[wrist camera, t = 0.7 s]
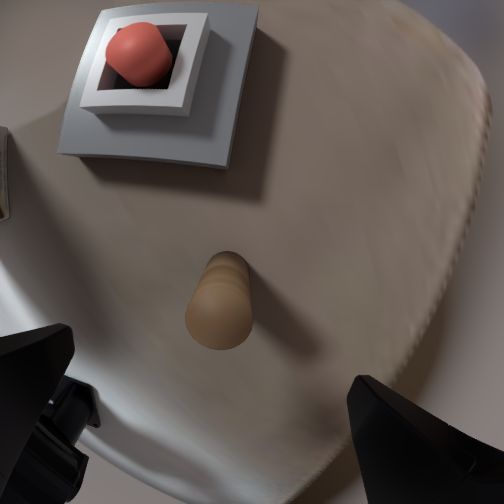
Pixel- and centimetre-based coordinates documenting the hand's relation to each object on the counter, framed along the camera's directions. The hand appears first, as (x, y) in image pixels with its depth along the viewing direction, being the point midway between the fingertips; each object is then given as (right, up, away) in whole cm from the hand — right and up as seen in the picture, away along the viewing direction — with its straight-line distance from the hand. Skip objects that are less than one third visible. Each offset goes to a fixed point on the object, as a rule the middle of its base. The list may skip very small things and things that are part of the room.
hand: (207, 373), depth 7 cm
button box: (-5, +16, +9) cm, 19 cm away
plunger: (-5, +15, +6) cm, 17 cm away
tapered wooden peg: (0, +2, +13) cm, 13 cm away
